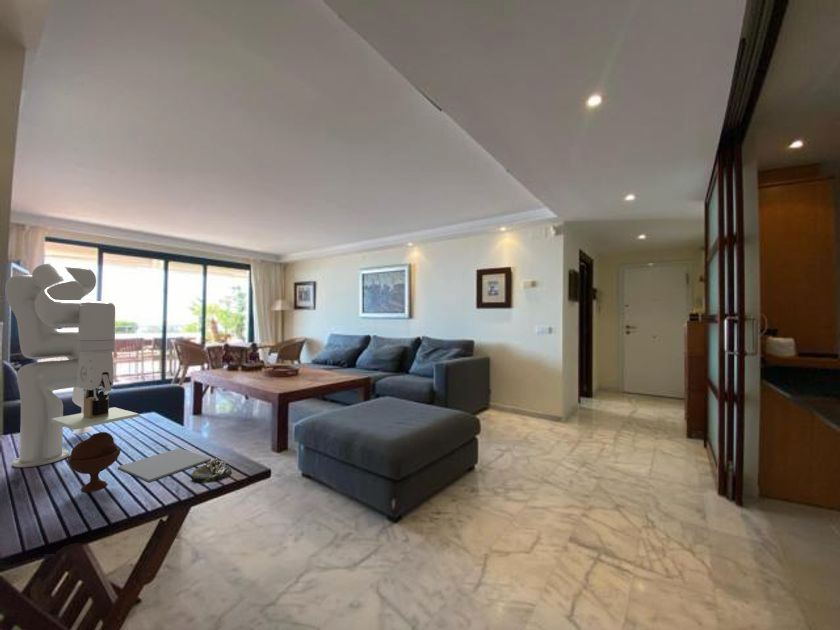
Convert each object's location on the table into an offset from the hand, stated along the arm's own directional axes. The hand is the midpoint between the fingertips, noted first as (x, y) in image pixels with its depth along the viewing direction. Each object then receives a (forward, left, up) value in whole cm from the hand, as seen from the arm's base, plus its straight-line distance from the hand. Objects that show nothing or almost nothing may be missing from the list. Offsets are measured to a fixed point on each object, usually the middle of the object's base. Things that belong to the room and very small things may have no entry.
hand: (96, 412), depth 100 cm
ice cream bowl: (0, 0, -21) cm, 21 cm away
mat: (0, +18, -21) cm, 27 cm away
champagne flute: (-62, +19, -21) cm, 68 cm away
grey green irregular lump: (+19, +21, -21) cm, 35 cm away
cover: (0, 0, -2) cm, 2 cm away
